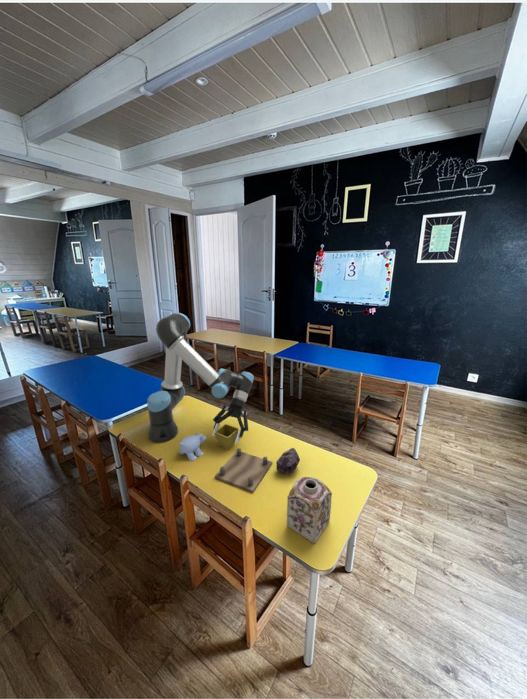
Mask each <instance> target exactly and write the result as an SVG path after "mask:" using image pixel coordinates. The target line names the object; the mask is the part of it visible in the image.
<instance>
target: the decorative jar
mask: <svg viewBox="0 0 527 699" xmlns="http://www.w3.org/2000/svg"><path fill="white" fill-rule="evenodd" d="M332 494H333V492H332V491H331V489H330V488H328V486H327V485H326V483H324V482H323V480H319V478H317V477H316V478H315V477H313V476H305V477H299V478H298V479H297V480H296V481H295V482H294V484H293V485H292V487H291V489H290V490H289V493H288V495H287V500H286V501H287V506H286V526H287V527H288V528H290V529H291V530H293V531H294V532H295V533H297V534H298V535H300V536H301V537H303V538H305V539H306V540H308V541H309V542H310V543H312V544H314V543H315V544H316V543H317V541H318V539H320V536H321V535H322V533H323V532H324V530H325V528H326V527H327V525H329V522H330V519H331V508H332Z"/></svg>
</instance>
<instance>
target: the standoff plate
mask: <svg viewBox="0 0 527 699" xmlns="http://www.w3.org/2000/svg"><path fill="white" fill-rule="evenodd" d="M272 465H273V461H272V460H268V457H267V456H263V457H259V456H255V455H254V454H249V453H247V452H243V451H242V448H240V447H238V448H237V449H236V451H235V452H234V453H233V455H232V456H231V457H230V458H229V459H228V460H227V462H225V464H224V465H223V466H221V467H219V470H218V471H217V473H216V474H215V475H214V478H215V479H216V480H218V481H222V482H224V483H227V484H229V485H232V486H235V487H236V488H239V489H242V490H244V491H247V492H249V493H252V494H254V493H255V491H256V490H257V488H258V486H259V485H260V483H261V482H262V481H263V479H264V477H265V476H266V475H267V473H268V471H269V470H270V468H271V467H272Z"/></svg>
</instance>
